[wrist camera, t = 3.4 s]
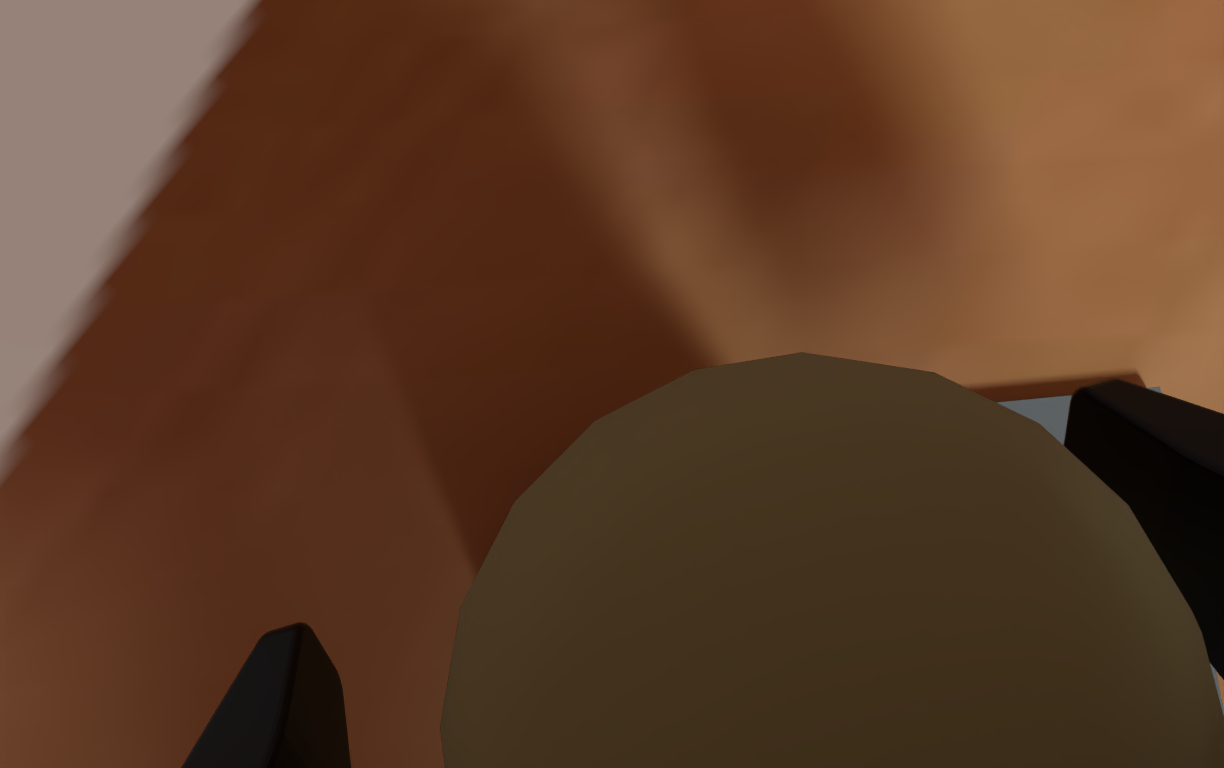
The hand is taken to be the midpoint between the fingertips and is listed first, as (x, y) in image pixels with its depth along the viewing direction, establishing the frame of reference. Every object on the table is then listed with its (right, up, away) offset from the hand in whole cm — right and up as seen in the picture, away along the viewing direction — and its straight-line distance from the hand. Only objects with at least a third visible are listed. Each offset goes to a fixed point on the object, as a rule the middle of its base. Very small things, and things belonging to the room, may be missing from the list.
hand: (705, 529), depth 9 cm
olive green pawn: (0, -2, +6) cm, 7 cm away
